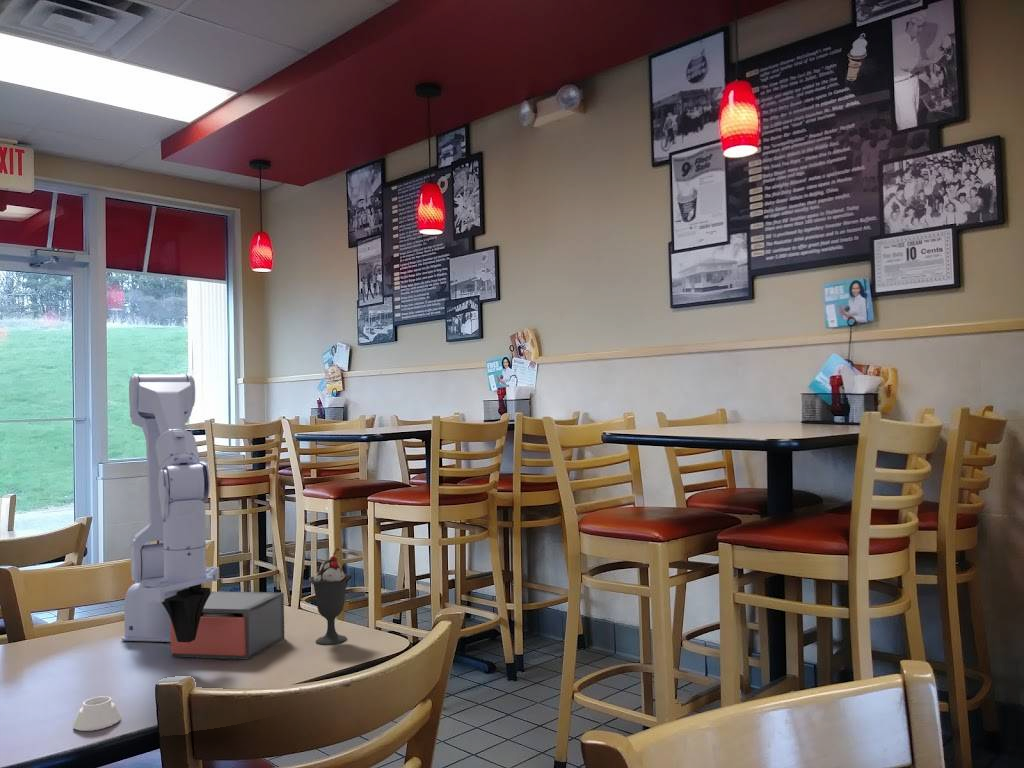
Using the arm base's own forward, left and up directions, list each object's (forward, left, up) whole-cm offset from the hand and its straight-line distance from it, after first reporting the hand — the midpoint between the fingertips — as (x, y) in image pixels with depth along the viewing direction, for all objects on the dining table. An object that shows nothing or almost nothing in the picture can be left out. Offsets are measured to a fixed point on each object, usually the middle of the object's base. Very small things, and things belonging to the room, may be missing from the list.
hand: (186, 640), depth 116 cm
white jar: (+1, -20, -5) cm, 21 cm away
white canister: (0, +8, -3) cm, 8 cm away
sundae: (+15, +16, -4) cm, 23 cm away
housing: (0, +11, -4) cm, 12 cm away
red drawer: (0, +10, -3) cm, 10 cm away
